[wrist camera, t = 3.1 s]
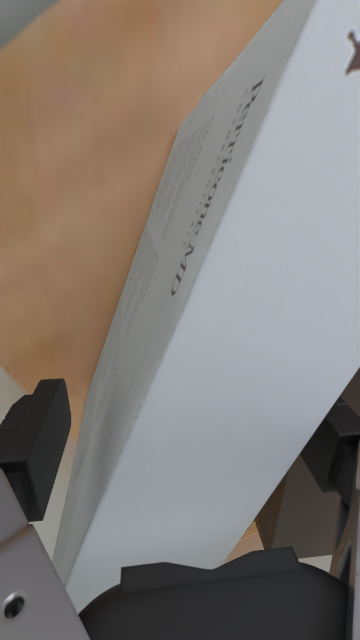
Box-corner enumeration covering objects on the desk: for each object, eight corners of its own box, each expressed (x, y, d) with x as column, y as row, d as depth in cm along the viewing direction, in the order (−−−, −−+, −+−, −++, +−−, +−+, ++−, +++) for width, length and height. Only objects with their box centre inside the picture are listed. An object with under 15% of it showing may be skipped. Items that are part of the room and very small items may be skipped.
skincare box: (148, 408, 27) (153, 674, 12) (86, 393, 25) (9, 670, 11) (259, 157, 19) (590, 74, 5) (181, 118, 18) (325, -148, 4)
